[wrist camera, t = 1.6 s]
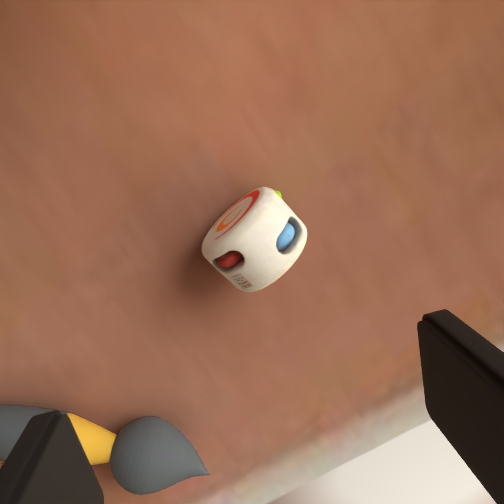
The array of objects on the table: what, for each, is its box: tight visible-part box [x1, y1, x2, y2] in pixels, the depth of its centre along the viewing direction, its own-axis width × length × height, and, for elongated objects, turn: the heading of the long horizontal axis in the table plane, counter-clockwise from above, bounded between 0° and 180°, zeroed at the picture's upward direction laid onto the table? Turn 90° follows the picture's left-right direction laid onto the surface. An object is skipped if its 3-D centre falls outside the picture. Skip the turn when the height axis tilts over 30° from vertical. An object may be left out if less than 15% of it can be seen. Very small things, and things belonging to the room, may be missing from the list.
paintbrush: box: [0, 405, 210, 495], centre depth 29 cm, size 20×5×5 cm, turn 82°
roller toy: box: [202, 187, 307, 292], centre depth 25 cm, size 4×6×6 cm
